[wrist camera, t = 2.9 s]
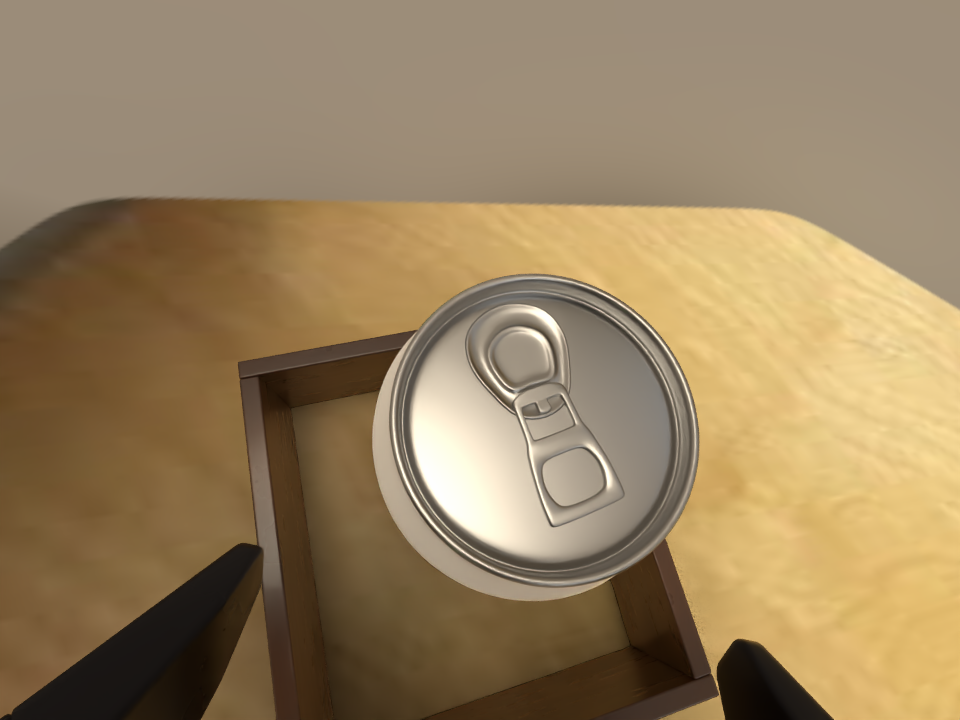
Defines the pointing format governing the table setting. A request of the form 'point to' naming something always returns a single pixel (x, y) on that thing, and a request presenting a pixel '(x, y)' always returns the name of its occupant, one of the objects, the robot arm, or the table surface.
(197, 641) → the robot arm
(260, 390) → the tray
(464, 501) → the can
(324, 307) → the table surface
